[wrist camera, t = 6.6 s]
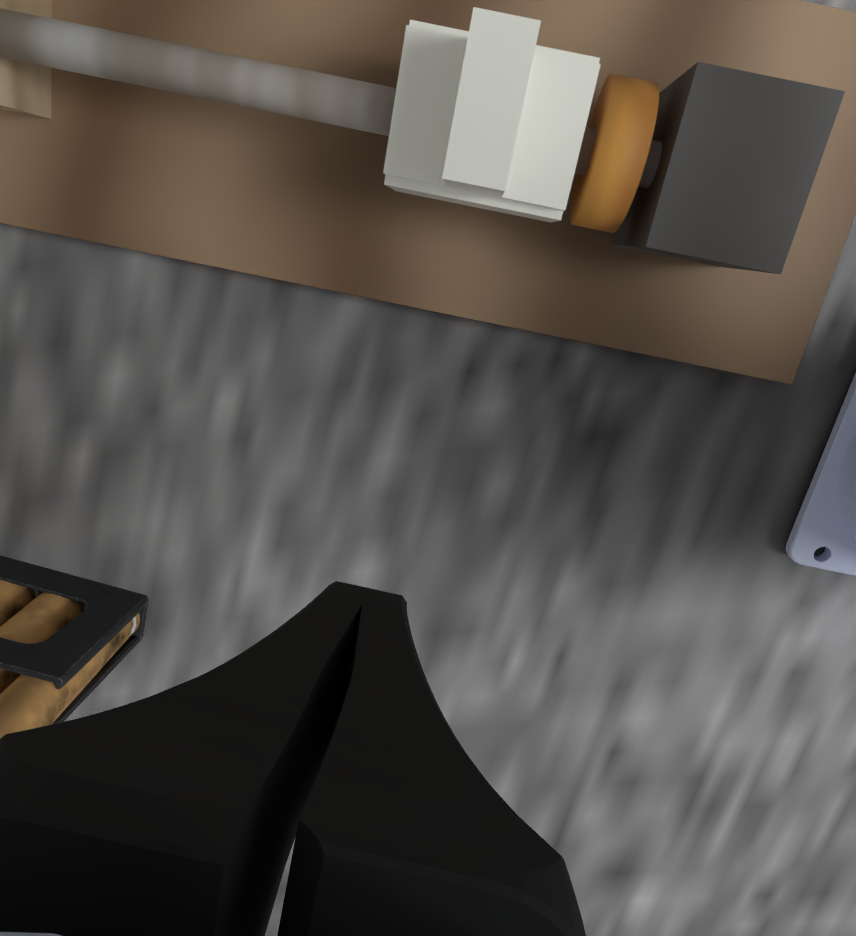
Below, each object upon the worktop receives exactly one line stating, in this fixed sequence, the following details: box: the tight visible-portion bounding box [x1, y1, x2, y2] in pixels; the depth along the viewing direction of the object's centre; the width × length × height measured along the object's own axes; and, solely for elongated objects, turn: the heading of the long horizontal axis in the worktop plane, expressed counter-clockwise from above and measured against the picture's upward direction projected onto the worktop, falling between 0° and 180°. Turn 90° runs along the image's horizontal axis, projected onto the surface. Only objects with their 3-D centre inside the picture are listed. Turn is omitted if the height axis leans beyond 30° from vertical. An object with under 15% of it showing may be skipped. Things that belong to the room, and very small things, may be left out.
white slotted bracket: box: [383, 7, 601, 223], centre depth 15 cm, size 4×3×5 cm
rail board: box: [0, 0, 856, 384], centre depth 17 cm, size 24×9×5 cm, turn 79°
